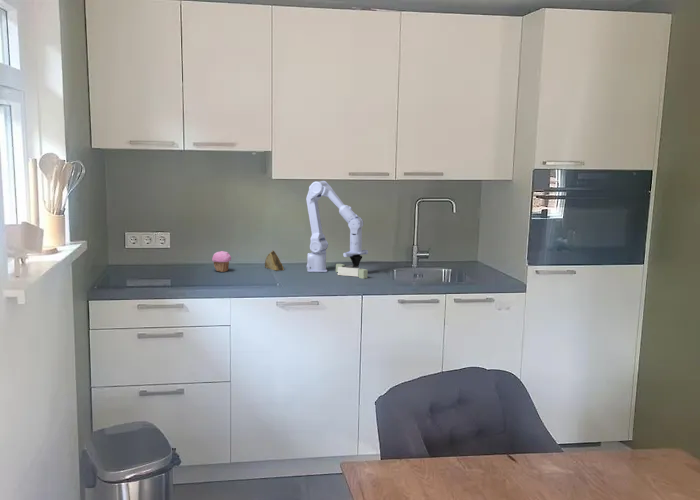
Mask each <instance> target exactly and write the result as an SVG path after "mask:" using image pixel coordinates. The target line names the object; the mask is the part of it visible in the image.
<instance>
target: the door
mask: <svg viewBox="0 0 700 500" xmlns="http://www.w3.org/2000/svg"><path fill="white" fill-rule="evenodd" d="M359 269H362V268H361V267H359V268H347V267H338V273H337V276H344V277H345V276H346V277H355V278H356V277H358V275H359Z"/></svg>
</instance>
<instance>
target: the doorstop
mask: <svg viewBox="0 0 700 500" xmlns="http://www.w3.org/2000/svg"><path fill="white" fill-rule="evenodd" d="M344 267H347V268H360V265H359V266H355V265H353V264H348V265H346V266H344Z"/></svg>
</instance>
